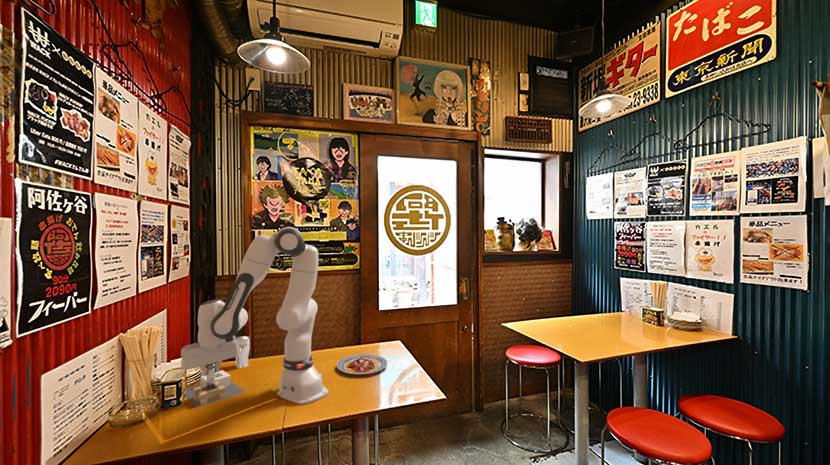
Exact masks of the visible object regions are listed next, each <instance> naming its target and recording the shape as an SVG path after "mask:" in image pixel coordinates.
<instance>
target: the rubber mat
mask: <svg viewBox="0 0 830 465" xmlns="http://www.w3.org/2000/svg"><path fill="white" fill-rule="evenodd" d="M199 386H201V383H200V384H195V385H193V386H189V387H186V389H185V388H184V389H185V393H184V394H183V395H184V396H185V397H186V398H187V399H188V400H189V401H190V402H191V403H192V404H193V406H195V407H196V408H197V409H199V408H202V407H204V406H207V405H210V404H213V403H216V402H218V401H221V400H224V399H228V398H230V397H233V396H236V395H240V394H241V393H244V392H246V390H244V389H243V388H241V387H240V386H239V385H237V384H236V383H234V382H233V381H232V380H231V385H227V386H225V387H226V397H224V398H221V399H218V400H216V401H213V402H210V403H207V404H204V405H200V404H199V403H198V402H197V401H196V400H195V399H194V398H193V388H196V387H199Z"/></svg>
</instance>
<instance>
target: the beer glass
mask: <svg viewBox="0 0 830 465" xmlns="http://www.w3.org/2000/svg"><path fill="white" fill-rule="evenodd" d="M235 342H236V343H237V347H238V354H237V356H236V357H235V368H237V369H242V368H243V369H244V368H247V367H248V366H249V354H250V348H251V342H250V336H246V335H243V336H237V337H236V339H235Z"/></svg>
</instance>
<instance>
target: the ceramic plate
mask: <svg viewBox="0 0 830 465" xmlns="http://www.w3.org/2000/svg"><path fill="white" fill-rule="evenodd" d="M363 358H369V359H375V360H377V361H378V362H380V364H381V365H380V367H379V366H378V367H379V368H378V367H377V368H378V369H376V368H375V366H376V365H374V364H375V363H374V362H373V361H372V360H369V359H363ZM356 359H357V360H356ZM353 360H354V361H353ZM350 361H353V362H351V363H350V364H349V365H348V366H347V368H351V369H352V370H354V371H355V372H350V371H348V370H347V369H346V368H345V365H346V364H347V363H348V362H350ZM387 365H388V361H387V359H386V358H384V357H382V356H380V355H377V354H376V355H375V354H371V353H370V354H368V353H367V354H366V353H363V354H360V353H359V354H355V355H354V354H352V355H349V356H346V357H344V358H341V359H340V360H339V361H337V363H336V367H337V369H338V370H339V371H341V372H343V373H346V374H351V375H368V374H374V373H377V372H379V371H382V370H384V369H385V368H386V367H387ZM372 367H373V368H374V369H376V370H373V371H369V370H371V369H373V368H372ZM367 371H369V372H367Z"/></svg>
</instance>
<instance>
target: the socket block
mask: <svg viewBox="0 0 830 465" xmlns="http://www.w3.org/2000/svg"><path fill="white" fill-rule="evenodd" d="M231 379H232V378H231V374H229V373H227V372H226V371H225V370H223V369H222V370H219V372H216V373H215V381H218V382H219V383H221V384H222V385H223V386H227V385H231V381H232V380H231ZM200 384H201V386H202V385H206V384H207V380H206V376H202V375H201V376H200Z"/></svg>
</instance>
